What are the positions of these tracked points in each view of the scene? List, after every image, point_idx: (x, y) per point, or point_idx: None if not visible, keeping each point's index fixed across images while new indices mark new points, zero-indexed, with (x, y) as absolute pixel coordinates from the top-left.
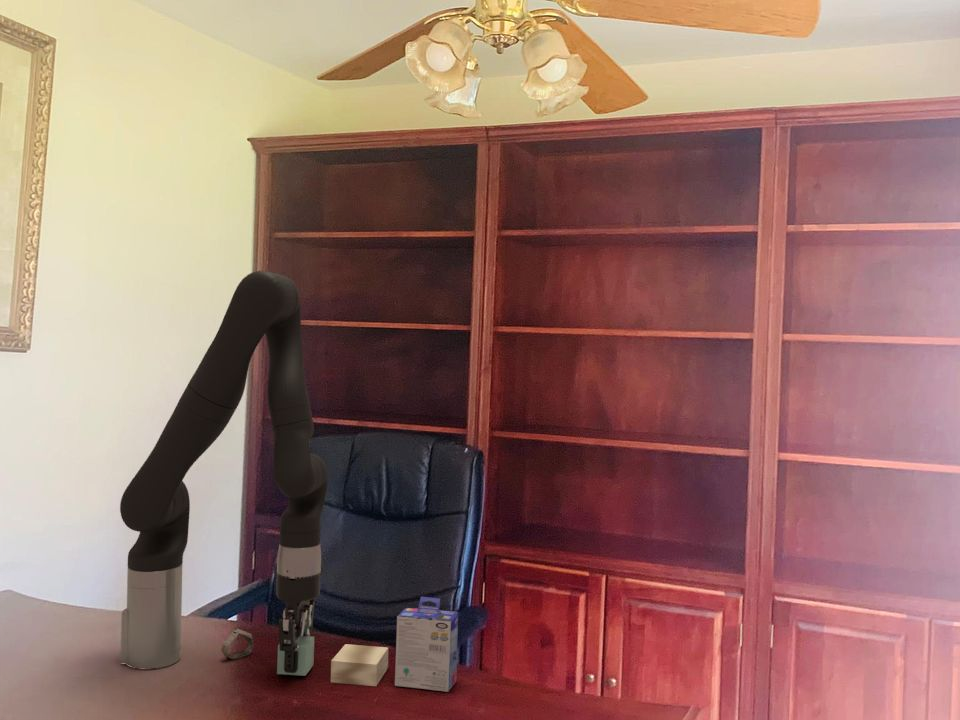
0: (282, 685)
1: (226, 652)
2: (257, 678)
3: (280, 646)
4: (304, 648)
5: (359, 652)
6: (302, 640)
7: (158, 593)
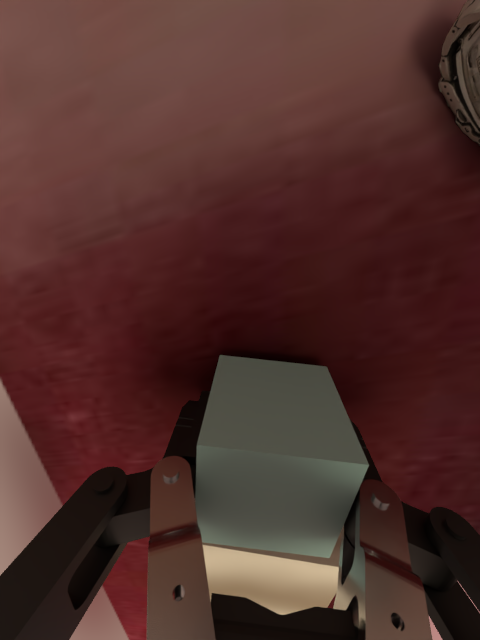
0: (169, 371)
1: (454, 25)
2: (215, 281)
3: (74, 499)
4: None
5: (271, 593)
6: (276, 526)
7: None
